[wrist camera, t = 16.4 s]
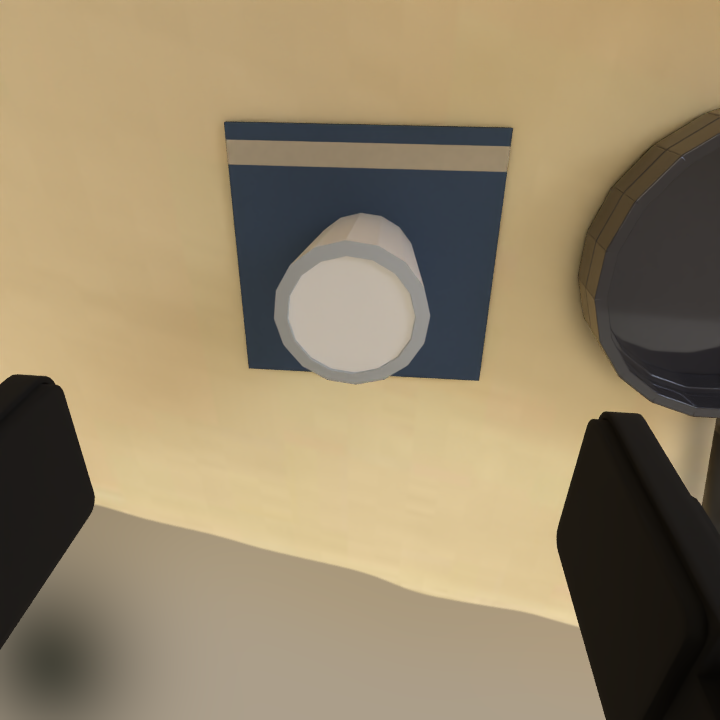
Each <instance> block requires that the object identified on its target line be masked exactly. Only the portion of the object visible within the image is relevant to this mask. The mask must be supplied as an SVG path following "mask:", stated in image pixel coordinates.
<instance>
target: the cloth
mask: <svg viewBox="0 0 720 720" xmlns="http://www.w3.org/2000/svg"><path fill="white" fill-rule="evenodd" d="M224 127H225V137H226V148H227V157H228V166H229V176H230V186H231V196H232V206H233V216H234V226H235V236H236V245H237V255H238V265H239V275H240V285H241V295H242V305H243V315H244V325H245V335H246V344H247V354H248V364H249V368H254V369H272V370H291V371H309V372H312V371H310V370H309V369H307V368H305V367H303V366H302V365H301V364H300V363H299V362H298V361H297V360H296V358H295V357H294V356H293V355H292V354H291V353H290V352H289V351H288V349H287V348H286V347H285V346H284V345H283V342H282V339H281V337H280V334H279V331H278V328H277V325H276V323H275V320H274V311H275V297H276V290H277V288H278V286H279V284H280V282H281V281H282V279H283V277H284V275H285V273H286V271H287V270H288V268H289V266H290V265H291V264H292V263H293V262H294V261H295V260H296V259H297V258H298V256H299V255H300V254H301V253H302V252H303V251H304V250H305V249H306V248H307V247H308V246H309V245H310V244H311V243H312V242H313V241H314V240H315V239H316V238H317V237H318V236H319V235H320V234H321V233H322V232H323V231H324V230H325V229H326V228H327V227H329V226H330V225H331V224H333V223H334V222H335V221H337V220H338V219H339V218H341V217H345V216H349V215H354V214H358V213H365V214H372V215H378V216H382V217H384V218H385V219H387V220H389V221H390V222H392V223H394V224H395V225H397V226H398V227H400V228H401V230H402V231H403V233H404V234H405V235H406V237H407V238H408V240H409V241H410V242H411V244H412V247H413V251H414V254H415V258H416V261H417V264H418V268H419V271H420V275H421V278H422V282H423V285H424V289H425V294H426V298H427V303H428V307H429V312H430V320H429V324H428V329H427V333H426V338H425V342H424V344H423V346H422V347H421V348H420V350H419V351H418V352H417V354H416V355H415V356H414V358H413V359H412V360H411V362H410V363H409V364H408V365H407V366H406V367H404V368H402V369H401V370H399V371H397V372H396V373H394V374H392V375H391V376H401V377H420V378H438V379H457V380H475V381H479V376H480V369H481V362H482V354H483V347H484V339H485V332H486V325H487V317H488V310H489V302H490V295H491V287H492V280H493V273H494V265H495V258H496V250H497V243H498V236H499V228H500V221H501V213H502V206H503V199H504V191H505V184H506V176H507V169H508V162H509V155H510V147H511V139H512V132H513V128H505V127H458V126H412V125H366V124H320V123H274V122H227V121H226V122H224Z"/></svg>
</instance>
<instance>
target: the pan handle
mask: <svg viewBox="0 0 720 720" xmlns="http://www.w3.org/2000/svg"><path fill="white" fill-rule="evenodd" d="M702 507H703V508H704V510H705V512H706V513H707V515H708V516H709V518H710V520H711V521H712V523H713V524H714V526H715V528H716V529H717V531H718V533H719V534H720V418H717V419H716V425H715V431H714V437H713V443H712V449H711V454H710V460H709V466H708V472H707V478H706V484H705V490H704V496H703V502H702Z"/></svg>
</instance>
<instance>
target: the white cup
mask: <svg viewBox="0 0 720 720" xmlns="http://www.w3.org/2000/svg"><path fill="white" fill-rule="evenodd" d="M274 320H275V323H276V325H277V328H278V331H279V334H280V337H281V339H282V342H283V345H284V346H285V347H286V348H287V349H288V351H289V352H290V353H291V354H292V355H293V356H294V357H295V358H296V360H297V361H298V362H299V363H300V364H301V365H302V366H303V367H305V368H307V369H309V370H310V371H312V372H314V373H316V374H318V375H320V376H321V377H323V378H325V379H327V380H332V381H338V382H344V383H350V384H361V383H367V382H373V381H378V380H384V379H386V378H387V377H389V376H391V375H392V374H394V373H396V372H397V371H399V370H401V369H402V368H404V367H406V366H407V365H408V364H409V363H410V362H411V360H412V359H413V358H414V356H415V355H416V354H417V352H418V351H419V350H420V348H421V347H422V346H423V344H424V342H425V338H426V333H427V329H428V324H429V320H430V312H429V307H428V303H427V298H426V294H425V289H424V285H423V282H422V278H421V275H420V271H419V268H418V264H417V261H416V258H415V254H414V251H413V247H412V244H411V242H410V241H409V240H408V238H407V237H406V235H405V234H404V233H403V231H402V230H401V228H400V227H398V226H397V225H395V224H394V223H392V222H390V221H389V220H387V219H385V218H384V217H382V216H378V215H372V214H365V213H358V214H354V215H349V216H345V217H341V218H339V219H338V220H337V221H335V222H334V223H333V224H331V225H330V226H329V227H327V228H326V229H325V230H324V231H323V232H322V233H321V234H320V235H319V236H318V237H317V238H316V239H315V240H314V241H313V242H312V243H311V244H310V245H309V246H308V247H307V248H306V249H305V250H304V251H303V252H302V253H301V254H300V255H299V256H298V258H297V259H296V260H295V261H294V262H293V263H292V264H291V265H290V266H289V268H288V270H287V271H286V273H285V275H284V277H283V279H282V281H281V282H280V284H279V286H278V288H277V290H276V297H275V311H274Z"/></svg>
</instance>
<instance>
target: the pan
mask: <svg viewBox="0 0 720 720" xmlns="http://www.w3.org/2000/svg"><path fill="white" fill-rule="evenodd" d="M578 281H579V288H580V295H581V303H582V310H583V316H584V319H585V321H586V322H587V324H588V326H589V328H590V329H591V331H592V333H593V335H594V336H595V338H596V340H597V342H598V343H599V345H600V347H601V349H602V350H603V352H604V353H605V355H606V357H607V358H608V360H609V361H610V363H611V365H612V366H613V368H614V370H615V371H616V373H617V374H618V376H619V377H620V378H621V379H622V380H624V381H625V382H626V383H627V384H629V385H630V386H631V387H632V388H634V389H635V390H636V391H637V392H639V393H640V394H641V395H643V396H644V397H645V398H646V399H648V400H649V401H650V402H652V403H655V404H658V405H661V406H664V407H667V408H669V409H672V410H675V411H678V412H681V413H684V414H687V415H690V416H693V417H709V418H720V109H716V110H713V111H709V112H707V113H705V114H703V115H702V116H700V117H698V118H697V119H695V120H693V121H692V122H690V123H688V124H687V125H685V126H684V127H682V128H680V129H679V130H677V131H675V132H674V133H672V134H670V135H669V136H667V137H665V138H664V139H662V140H661V141H659V142H657V143H656V144H655V146H652V147H651V148H650V149H649V150H648V151H647V152H646V153H645V154H644V155H643V156H642V157H641V158H640V159H639V160H638V161H637V162H636V163H635V164H634V165H633V166H632V167H631V169H630V170H629V171H628V172H627V173H626V174H625V175H624V176H623V177H622V178H621V179H620V180H619V181H618V182H617V183H616V184H615V185H614V187H612V189H611V190H610V192H609V194H608V196H607V198H606V199H605V201H604V203H603V205H602V207H601V208H600V210H599V212H598V214H597V215H596V217H595V219H594V221H593V223H592V224H591V226H590V228H589V230H588V232H587V236H586V241H585V245H584V250H583V255H582V259H581V264H580V269H579V273H578Z"/></svg>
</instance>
